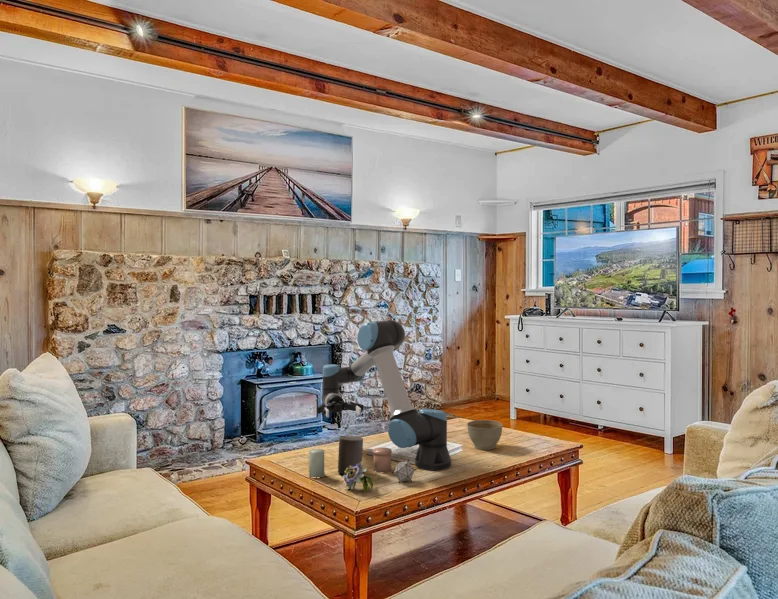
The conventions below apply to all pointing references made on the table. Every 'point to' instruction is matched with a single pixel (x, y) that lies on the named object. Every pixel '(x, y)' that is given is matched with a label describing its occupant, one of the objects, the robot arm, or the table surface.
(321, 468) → the pale green cylinder
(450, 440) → the table surface
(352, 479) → the passion flower
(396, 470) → the game die
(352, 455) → the pillar candle
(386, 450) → the peach round-topped cylinder
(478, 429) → the planter bowl
